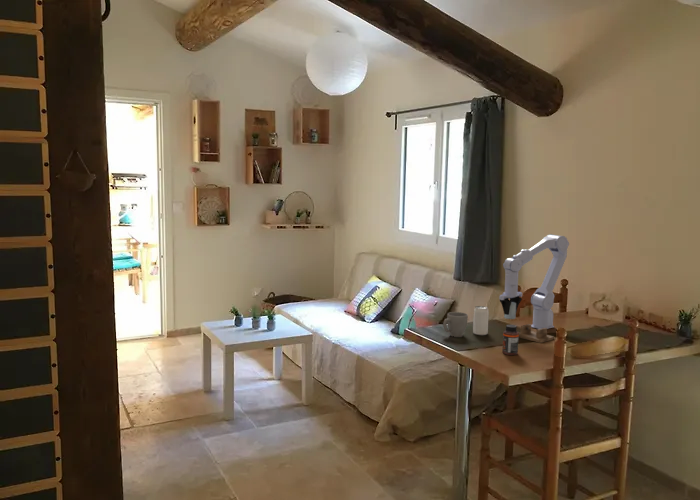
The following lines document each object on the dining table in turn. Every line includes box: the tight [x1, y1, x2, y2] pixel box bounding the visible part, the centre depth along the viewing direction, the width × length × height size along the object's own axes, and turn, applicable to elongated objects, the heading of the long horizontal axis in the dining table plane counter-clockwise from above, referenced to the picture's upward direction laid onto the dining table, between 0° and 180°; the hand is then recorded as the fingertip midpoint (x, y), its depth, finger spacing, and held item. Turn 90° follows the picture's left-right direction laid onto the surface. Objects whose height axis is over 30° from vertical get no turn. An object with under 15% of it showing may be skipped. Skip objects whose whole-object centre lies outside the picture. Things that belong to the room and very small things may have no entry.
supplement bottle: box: [502, 324, 520, 356], centre depth 239 cm, size 6×6×11 cm
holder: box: [518, 323, 555, 344], centre depth 265 cm, size 10×14×5 cm
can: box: [472, 305, 490, 336], centre depth 269 cm, size 6×6×12 cm
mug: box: [442, 311, 469, 338], centre depth 264 cm, size 12×9×10 cm
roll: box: [503, 302, 517, 320], centre depth 277 cm, size 5×5×7 cm
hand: (510, 313), depth 278 cm, fingers closed on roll, 5 cm apart
